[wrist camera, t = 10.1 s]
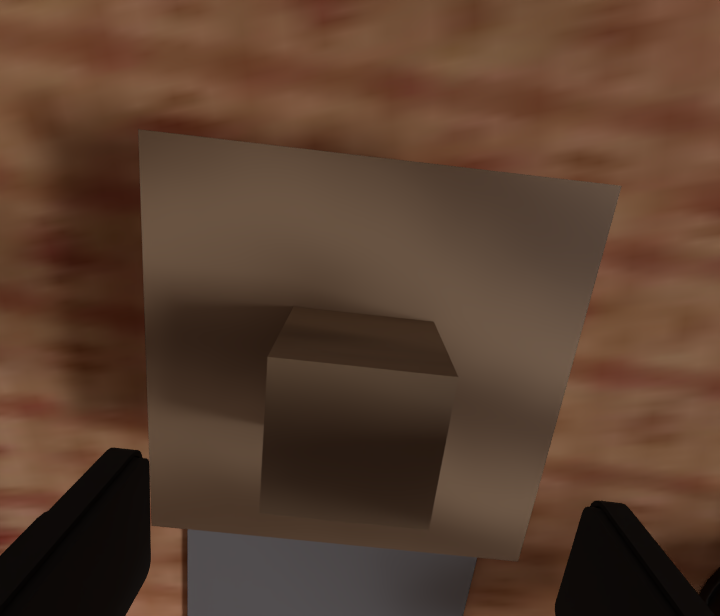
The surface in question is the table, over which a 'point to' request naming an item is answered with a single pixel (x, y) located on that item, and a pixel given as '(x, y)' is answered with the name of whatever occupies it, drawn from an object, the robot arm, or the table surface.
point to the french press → (712, 593)
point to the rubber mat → (320, 578)
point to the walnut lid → (357, 341)
